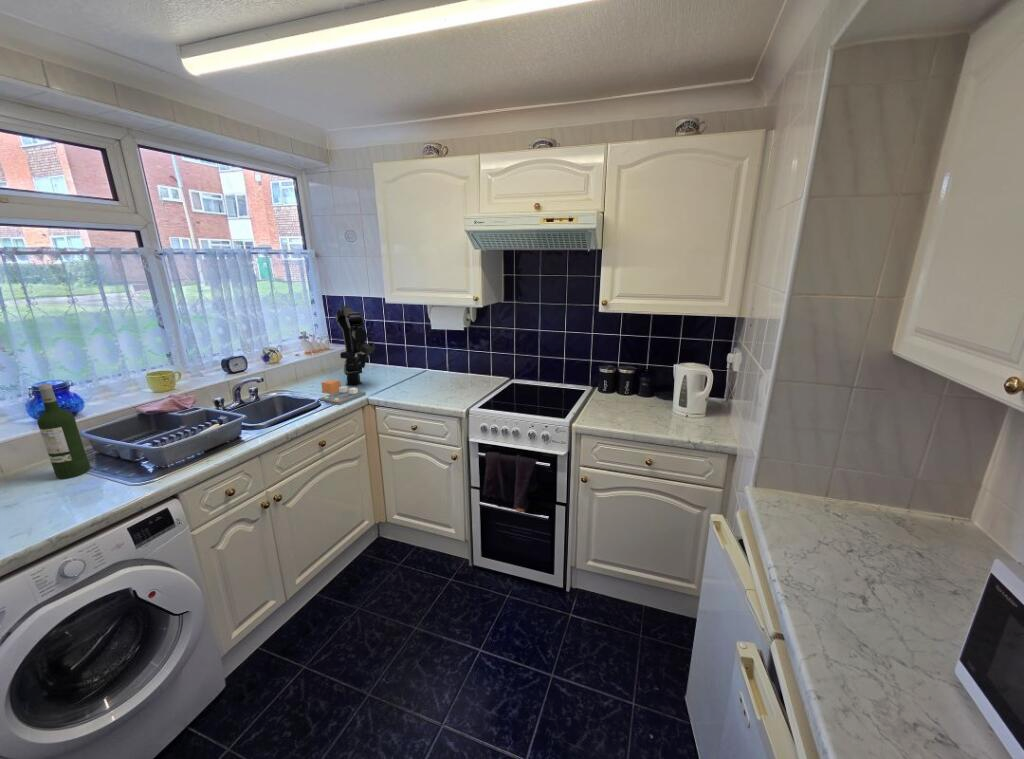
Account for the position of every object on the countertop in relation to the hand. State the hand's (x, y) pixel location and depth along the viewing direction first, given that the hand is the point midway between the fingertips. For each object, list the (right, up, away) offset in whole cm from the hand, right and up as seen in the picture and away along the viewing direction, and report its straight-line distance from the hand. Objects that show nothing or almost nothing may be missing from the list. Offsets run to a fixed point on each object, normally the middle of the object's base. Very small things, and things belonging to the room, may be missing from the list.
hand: (360, 368), depth 210 cm
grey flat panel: (-7, -15, -4) cm, 17 cm away
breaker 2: (-2, -12, -3) cm, 13 cm away
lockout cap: (-17, -12, +7) cm, 22 cm away
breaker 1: (-8, -12, 0) cm, 14 cm away
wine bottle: (-65, -36, -76) cm, 106 cm away
